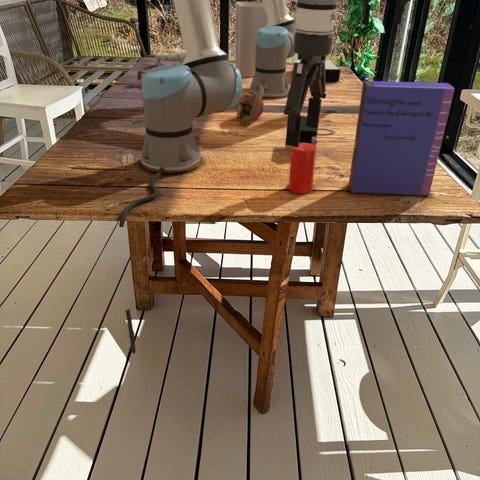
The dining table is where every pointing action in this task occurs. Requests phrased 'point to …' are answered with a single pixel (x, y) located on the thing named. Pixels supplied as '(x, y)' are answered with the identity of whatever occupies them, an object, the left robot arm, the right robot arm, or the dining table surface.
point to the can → (302, 168)
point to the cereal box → (399, 137)
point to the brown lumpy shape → (250, 106)
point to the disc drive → (328, 71)
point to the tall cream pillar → (248, 35)
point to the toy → (169, 57)
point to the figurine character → (307, 133)
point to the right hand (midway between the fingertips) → (381, 24)
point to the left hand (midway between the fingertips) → (302, 136)
